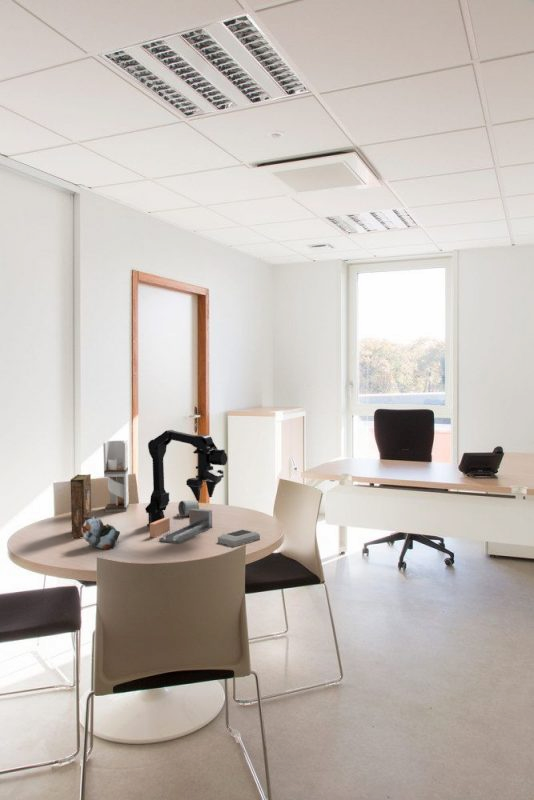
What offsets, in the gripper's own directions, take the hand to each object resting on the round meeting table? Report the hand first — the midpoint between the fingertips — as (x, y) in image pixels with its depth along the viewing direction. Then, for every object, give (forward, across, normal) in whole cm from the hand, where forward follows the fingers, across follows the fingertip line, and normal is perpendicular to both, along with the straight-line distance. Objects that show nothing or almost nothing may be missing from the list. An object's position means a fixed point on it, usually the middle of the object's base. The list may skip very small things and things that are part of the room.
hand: (204, 499), depth 278 cm
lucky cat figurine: (+15, -41, +22) cm, 48 cm away
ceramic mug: (+15, +21, +26) cm, 37 cm away
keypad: (+14, -8, -23) cm, 28 cm away
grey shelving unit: (+15, +15, +66) cm, 70 cm away
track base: (+14, -9, +3) cm, 17 cm away
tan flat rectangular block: (+14, -14, +13) cm, 24 cm away
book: (+15, -30, +44) cm, 56 cm away
